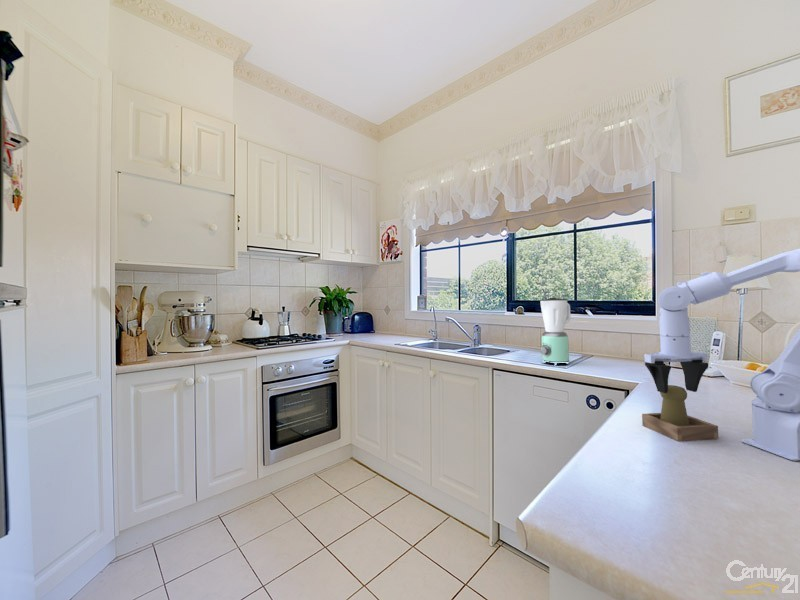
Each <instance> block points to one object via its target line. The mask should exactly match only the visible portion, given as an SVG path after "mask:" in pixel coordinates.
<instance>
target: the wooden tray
mask: <svg viewBox="0 0 800 600" xmlns="http://www.w3.org/2000/svg"><path fill="white" fill-rule="evenodd" d="M641 416H642V418H641V420H642V421H641V423H642V426H643V427H645V428H646V429H647V428H648V429H649V430H652V431H655V432H656V433H659V434H660V435H663V436H665V437H668V438H669V437H670V438H669V439H672V440H674V441H677V442H687V441H705V440H709V441H710V440H719V426H718V425H716V424H714V423H710V422H708V421H705V420H701V419H699V418H696V417H694V416H690V415H688V414H687V417H688V421H689V426H676V425H673V424H671V423H668V422H666V421H663V420H661V419H660V417H661V412H656V413H655V412H652V413H642V414H641Z"/></svg>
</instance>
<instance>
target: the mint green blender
mask: <svg viewBox="0 0 800 600" xmlns="http://www.w3.org/2000/svg"><path fill="white" fill-rule="evenodd" d="M539 302H540V308H541V309H540V311H541V315H542V320H543V321H542V322H543V326H544V330H545V331H544V332H543V333H542V334H541V347H540V354H541V361H542V360H544V361H549V362H569V363H570V347H569V346H570V345H569V336H568V334H567V333H566V332H564V331H565V325H566V324H567V323H569V322H570V320H571V304H570V303H568V299H567V298H564V299H563V298H557V297H550V298H546V299H540V300H539Z"/></svg>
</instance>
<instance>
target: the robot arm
mask: <svg viewBox="0 0 800 600" xmlns="http://www.w3.org/2000/svg"><path fill="white" fill-rule="evenodd" d="M780 272H781V273H798V272H800V248H797V249H794V250H789V251H786V252H782V253H778V254H776V255H773V256H770V257H768V258H765V259H763V260H759V261H758V262H754V263H752V264H750V265H746V266H743V267H741V268H737V269H735V270H733V271H730V272H727V273H721V272H719V271H712V272H708V271H705V272H702V273H700V274H699V275H700V276H699V277H695V278H693V279H689V280H687V281H685V282H682V281H679V282H677V283H676V286H675V285H673V286H668V287H667V288H665V289H663V290H662V291H661V292H660V293H659V295H658V299H657V302H658V304H659V306H660V308H659V312H658V313H659V315H660V316H659V317H658V321H659V324H658V325H659V342H660V351H658V352H655V353H647V354H646V353H645V354H644V355H643V356H644V366H645V367H646V368H647V370H648V371H649V373H650V375H651V377H652V378H653V381H654V384H655V386H656V387H655V388H656V391H657V392H659V393H660V392H662V393H667V391H668V385H669V377H670V376H669V375H670V372H671V370H672V366H671V365H667V364H666V363H680V366H681V368H682V371H683V375H684V385H685V390H686V391H689V392H694V393H697V391H698V388H699V385H700V382H701V380H702V377H703V375H704V373H705V372H706V371H707V369H709V363H708V354H707V353H704V352H691V351H692V347H691V346H692V345H691V329H690V328H691V327H690V326H691V325H690V323H691V322H690V317H689V316H688V315H689V312H688V311H689V310H688V306H689V305H690V304H693V305H698V304H701V303H705V302H707V301H711V300H714V299H717V298H720V297H723V296H726V295H728V294H729V293H730V292H731V290H732V289H733V287H735V286H737V285H740V284H743V283H747V282H750V281H753V280H756V279H760V278H764V277H767V276H770V275H773V274H776V273H780ZM749 386H750V389H751V391H752V392H753V393H754V394H755V395H756V396H755V397H754V398H753V399H752V400H751V414H752V415H751V416H752V417H751V418H752V419H751V420H752V438H742V439H741V440H740V441H741V442H742V443H745V444H746V445H750V446H752V447H755V448H757V449H761V450H763V451H765V452H769V453H771V454H774V455H777V456H780V457H782V458H785V459H787V460H790V461H794V462H795V461H800V328H799V329H798V330H797V331H796V332H795V334H794V336H793V337H792V338H791V340H790V341H789V342H788V344H787V345H786V346H785V348H784V349H783V351H782V352H781V353H780V355H779V356H778V357H777V358H776V359H775V360H774V361H772V362H771V363H769V364H768V365H767V367H766V368H765V369H764V370H763V371H761V372H758V373H756V374H754V376H752V378H751V379H750V382H749Z"/></svg>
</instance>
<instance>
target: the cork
mask: <svg viewBox="0 0 800 600" xmlns="http://www.w3.org/2000/svg"><path fill="white" fill-rule="evenodd" d="M659 394H660V396H661V398H662V403H661V410H660V413H661V417H660V419H661V420H663V421H666V422H668V423H671V424H673V425H676V426H689V421H688V417H687V415H688V412H687V408H686V402H685V400H686V399H687V398H688V393H687V390H686V388H685V387H682V386H678V385H674V384H668V391H667V393H662V392H659Z"/></svg>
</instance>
